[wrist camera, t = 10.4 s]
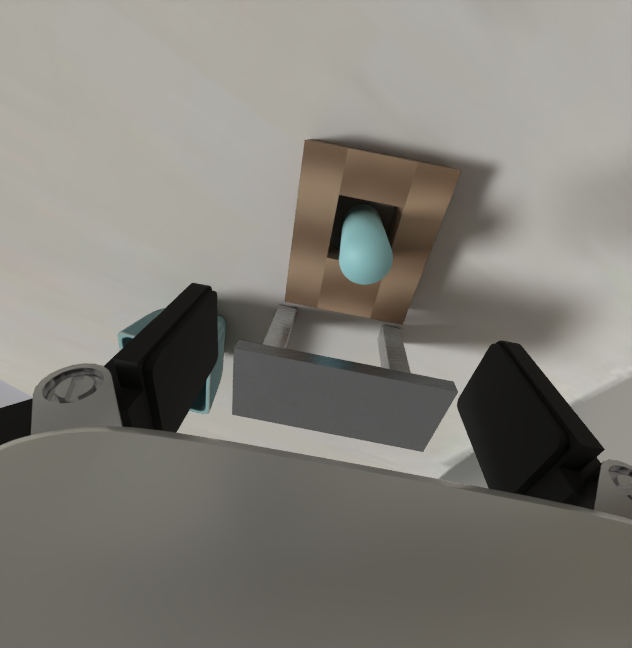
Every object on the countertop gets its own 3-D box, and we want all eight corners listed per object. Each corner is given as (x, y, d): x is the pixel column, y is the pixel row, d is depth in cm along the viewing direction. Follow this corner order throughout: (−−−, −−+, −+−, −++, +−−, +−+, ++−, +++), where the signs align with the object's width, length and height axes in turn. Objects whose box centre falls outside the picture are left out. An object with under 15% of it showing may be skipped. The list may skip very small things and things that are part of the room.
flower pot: (235, 363, 40) (208, 416, 32) (170, 348, 40) (127, 398, 32) (241, 307, 35) (211, 354, 28) (167, 289, 35) (115, 331, 27)
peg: (347, 200, 28) (345, 228, 19) (385, 208, 28) (400, 239, 20) (339, 238, 30) (334, 279, 21) (374, 245, 30) (384, 289, 21)
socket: (310, 139, 26) (304, 139, 23) (448, 166, 26) (461, 170, 23) (290, 286, 33) (284, 301, 30) (397, 307, 33) (402, 324, 30)
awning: (278, 267, 32) (233, 348, 20) (417, 294, 32) (457, 392, 20) (273, 318, 36) (232, 414, 23) (398, 343, 36) (422, 451, 23)
